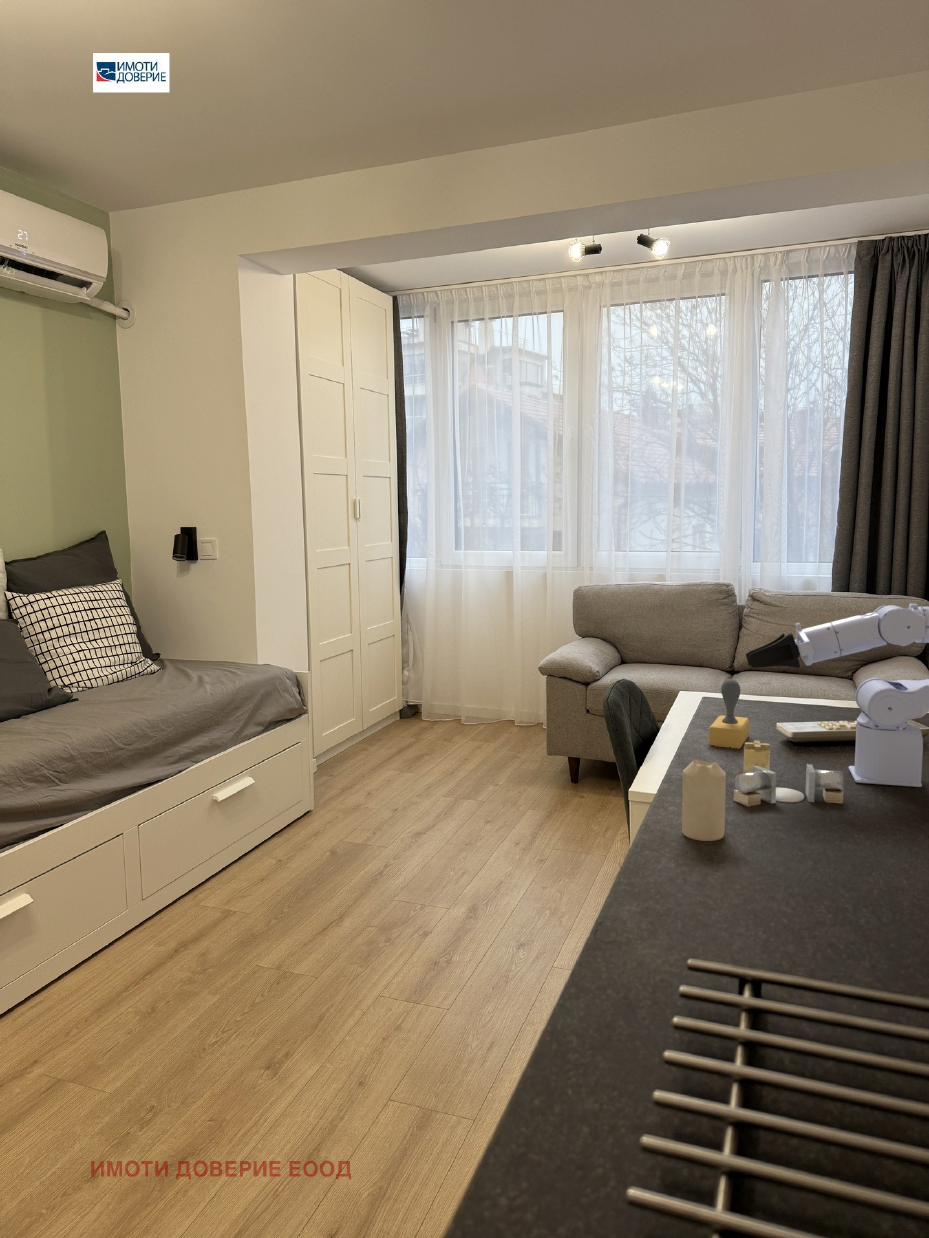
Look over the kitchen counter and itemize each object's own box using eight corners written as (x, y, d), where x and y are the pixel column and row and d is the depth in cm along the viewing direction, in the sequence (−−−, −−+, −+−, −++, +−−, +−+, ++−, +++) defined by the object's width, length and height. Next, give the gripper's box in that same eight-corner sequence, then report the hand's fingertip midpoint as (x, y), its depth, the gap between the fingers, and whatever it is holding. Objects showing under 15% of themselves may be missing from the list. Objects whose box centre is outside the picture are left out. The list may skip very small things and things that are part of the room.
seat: (802, 791, 128) (802, 789, 128) (806, 803, 123) (806, 801, 123) (761, 787, 130) (761, 786, 130) (763, 800, 124) (763, 798, 124)
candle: (726, 829, 113) (728, 758, 112) (721, 844, 108) (723, 769, 107) (685, 823, 115) (687, 754, 114) (678, 837, 110) (679, 764, 109)
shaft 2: (808, 801, 124) (809, 771, 123) (805, 793, 127) (806, 764, 127) (843, 804, 122) (844, 774, 122) (839, 795, 126) (840, 766, 125)
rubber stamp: (740, 749, 152) (742, 685, 151) (708, 745, 155) (710, 682, 153) (749, 736, 161) (750, 675, 160) (718, 733, 164) (720, 673, 162)
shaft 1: (756, 794, 127) (757, 765, 126) (775, 802, 123) (776, 772, 123) (731, 799, 125) (732, 769, 124) (750, 807, 121) (751, 777, 121)
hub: (768, 775, 136) (769, 741, 136) (769, 783, 133) (771, 747, 132) (742, 773, 137) (743, 739, 137) (743, 781, 134) (744, 746, 133)
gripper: (820, 616, 141) (739, 636, 144) (834, 614, 127) (744, 637, 130) (832, 656, 140) (750, 676, 144) (847, 659, 126) (756, 680, 130)
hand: (748, 660), depth 137 cm, fingers open, 7 cm apart
